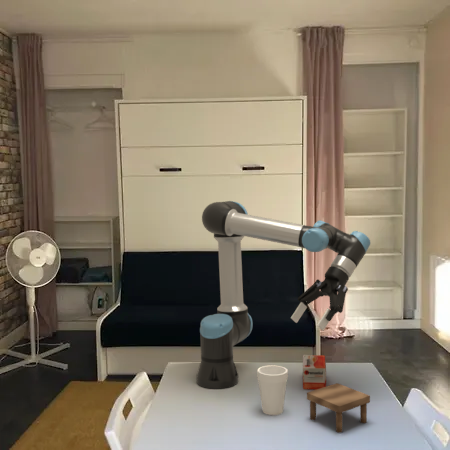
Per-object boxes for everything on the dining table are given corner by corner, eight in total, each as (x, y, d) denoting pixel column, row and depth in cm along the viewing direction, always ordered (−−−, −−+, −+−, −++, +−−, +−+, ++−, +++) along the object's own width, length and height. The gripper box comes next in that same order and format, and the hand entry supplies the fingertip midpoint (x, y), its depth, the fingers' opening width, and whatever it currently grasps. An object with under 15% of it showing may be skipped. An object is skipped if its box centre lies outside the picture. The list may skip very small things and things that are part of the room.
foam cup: (286, 418, 163) (286, 376, 162) (256, 416, 165) (255, 374, 164) (289, 406, 172) (288, 366, 172) (260, 404, 174) (259, 364, 173)
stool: (307, 418, 163) (306, 392, 162) (337, 407, 170) (336, 383, 170) (339, 434, 152) (339, 406, 152) (369, 422, 160) (369, 395, 159)
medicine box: (303, 375, 201) (303, 354, 201) (325, 375, 200) (325, 354, 199) (302, 390, 186) (302, 367, 186) (326, 391, 185) (326, 368, 184)
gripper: (373, 283, 171) (339, 338, 165) (322, 275, 193) (290, 323, 186) (360, 268, 168) (325, 324, 162) (309, 262, 190) (276, 311, 183)
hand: (306, 324), depth 174 cm, fingers open, 13 cm apart
